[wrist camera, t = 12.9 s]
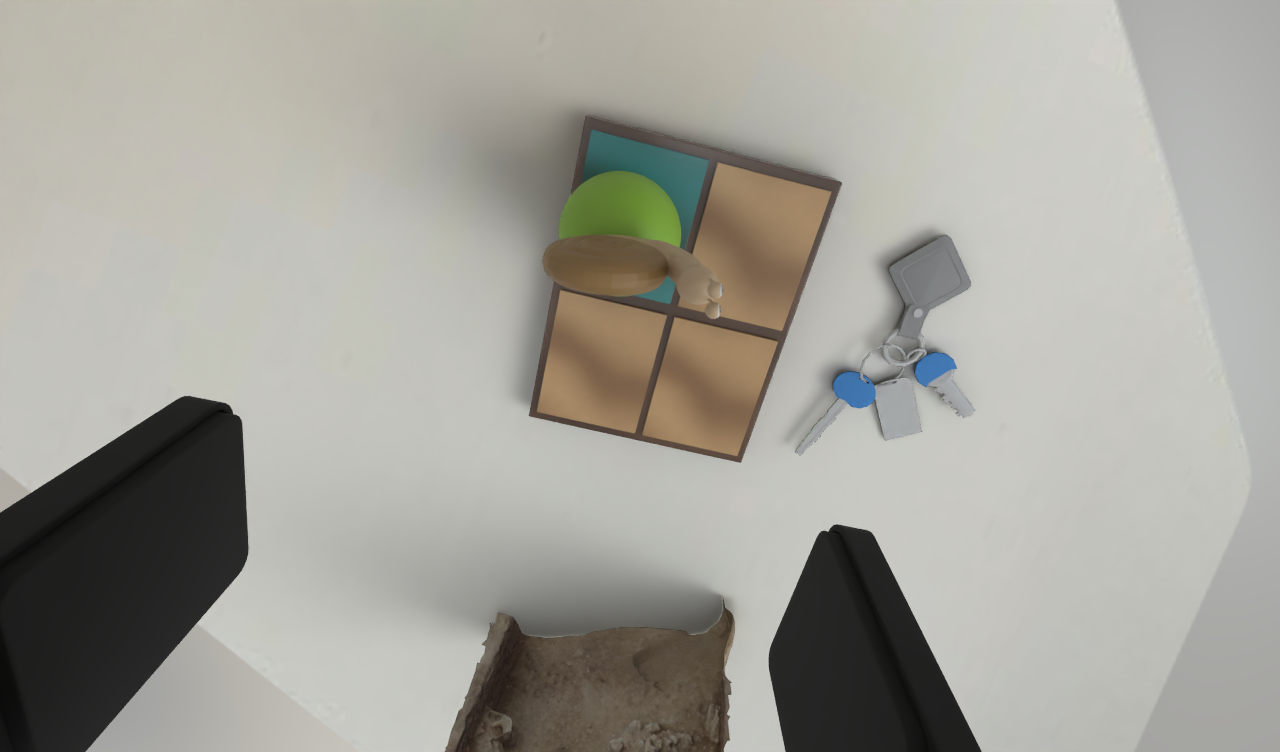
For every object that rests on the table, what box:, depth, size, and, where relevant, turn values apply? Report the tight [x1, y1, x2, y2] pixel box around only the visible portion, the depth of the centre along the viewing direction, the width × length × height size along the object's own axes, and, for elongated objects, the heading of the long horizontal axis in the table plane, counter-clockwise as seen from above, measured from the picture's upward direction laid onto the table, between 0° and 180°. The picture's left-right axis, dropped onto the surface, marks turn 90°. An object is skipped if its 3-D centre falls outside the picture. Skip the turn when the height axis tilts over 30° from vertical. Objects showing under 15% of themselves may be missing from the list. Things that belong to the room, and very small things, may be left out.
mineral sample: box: [445, 600, 735, 752], centre depth 36 cm, size 17×4×15 cm, turn 94°
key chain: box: [795, 235, 976, 455], centre depth 34 cm, size 14×8×1 cm, turn 160°
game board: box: [529, 116, 842, 463], centre depth 33 cm, size 16×12×1 cm
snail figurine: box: [542, 171, 723, 319], centre depth 25 cm, size 5×6×12 cm
